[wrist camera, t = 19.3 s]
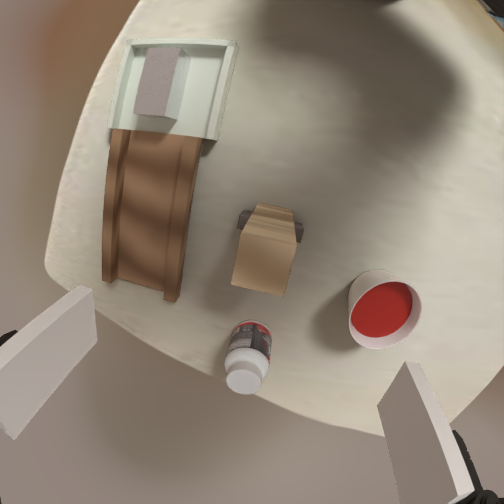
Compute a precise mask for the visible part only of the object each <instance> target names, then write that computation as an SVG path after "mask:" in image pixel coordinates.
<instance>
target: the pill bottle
mask: <svg viewBox="0 0 504 504" xmlns="http://www.w3.org/2000/svg"><path fill="white" fill-rule="evenodd" d="M271 342H272V335H271V332H270V330H269V328H268V327H267V326H266V325H264V324H263V323H261V322H259V321H255V320H247V321H244V322H241V323H240V324H238V325H237V326H236V327H235V329H234V332H233V335H232V338H231V341H230V344H229V348H228V351H227V354H226V357H225V361H224V367H225V371H226V372H227V377H226V383H227V385H228V386H229V388H230V389H232V390H233V391H234V392H237V393H240V394H252V393H255V392H256V391H258V390H259V389H260V387H261V383H262V379H264V378H265V377H266V375H267V373H268V371H269V364H270V352H271Z"/></svg>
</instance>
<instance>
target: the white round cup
mask: <svg viewBox="0 0 504 504" xmlns="http://www.w3.org/2000/svg"><path fill="white" fill-rule="evenodd" d="M421 312H422V302H421V298H420V296H419V294H418V292H417V291H416V289H415V288H414V287H412V286H411V285H410V284H408V283H406V282H405V281H403V280H401V279H400V278H398V277H396V276H395V275H393V274H391V273H389V272H387V271H385V270H381V269H373V270H369V271H366V272H364V273H363V274H361V275H360V276H358V277H357V278H356V279H355V281H354V282H353V283H352V285H351V287H350V290H349V295H348V314H349V329H350V333H351V335H352V337H353V338H354V340H355V341H356V342H357V343H358V344H360V345H361V346H363V347H366V348H369V349H386V348H389V347H392V346H395V345H397V344H399V343H400V342H402V341H403V340H405V339H406V338H407V337H408V336H409V335H410V334H411V333H412V332H413V330H414V329H415V328H416V326H417V324H418V322H419V320H420V317H421Z"/></svg>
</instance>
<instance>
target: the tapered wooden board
mask: <svg viewBox="0 0 504 504" xmlns="http://www.w3.org/2000/svg"><path fill="white" fill-rule="evenodd" d="M237 229H242V232H241V234H240V239H239V244H238V249H237V254H236V259H235V264H234V269H233V274H232V280H231V285H235V286H239V287H243V288H247V289H252V290H256V291H260V292H265V293H269V294H274V295H278V296H284V292H285V289H286V285H287V282H288V278H289V274H290V271H291V267H292V263H293V260H294V256H295V252H296V248H297V242H298V243H301V239H302V235H303V231H304V228H303V225H302V223H297V222H294V219H293V212H292V210H288V209H284V208H280V207H276V206H271V205H267V204H262V203H258V204H257V206H256V208H255V209H254V211H253V212H249V211H245V210H243V212H242V213H241V214H240V216H239V221H238V227H237Z"/></svg>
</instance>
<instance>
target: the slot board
mask: <svg viewBox="0 0 504 504" xmlns="http://www.w3.org/2000/svg"><path fill="white" fill-rule="evenodd" d="M202 142H203V138H200V137H193V136H186V135H185V136H184V135H176V134H167V133H159V132H149V131H138V130H127V129H115V128H113V131H112V137H111V144H110V151H109V158H108V166H107V175H106V185H105V196H104V210H103V229H102V281H105V282H108V283H112V282H113V281H114V280H116V279H117V278H121V279H124V280H127V281H131V282H134V283H137V284H141V285H144V286H148V287H151V288H155V289H158V290H162V291H164V300H167V301H171V302H174V303H175V301H176V300H177V299H178V297H179V296H180V289H181V280H182V271H183V262H184V254H185V246H186V239H187V232H188V225H189V218H190V211H191V205H192V198H193V192H194V186H195V180H196V174H197V169H198V163H199V157H200V152H201V147H202Z"/></svg>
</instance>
